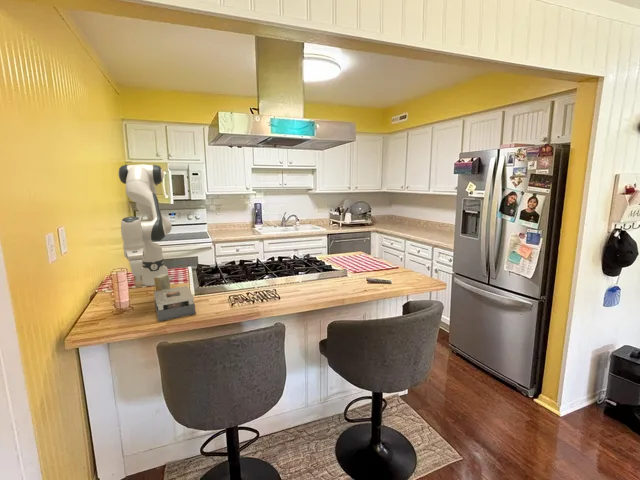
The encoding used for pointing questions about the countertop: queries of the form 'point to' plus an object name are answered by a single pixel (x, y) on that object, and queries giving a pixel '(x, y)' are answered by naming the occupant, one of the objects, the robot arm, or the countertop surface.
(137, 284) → the grey block
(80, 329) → the countertop surface
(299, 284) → the countertop surface
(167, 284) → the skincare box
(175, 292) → the breaker housing
